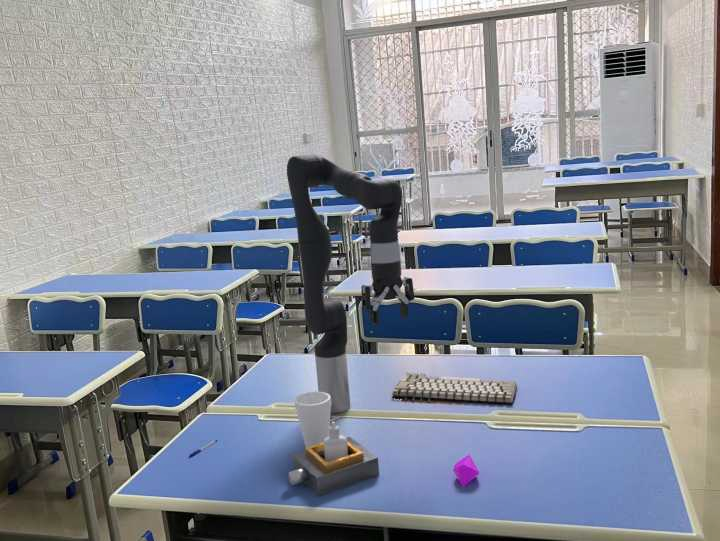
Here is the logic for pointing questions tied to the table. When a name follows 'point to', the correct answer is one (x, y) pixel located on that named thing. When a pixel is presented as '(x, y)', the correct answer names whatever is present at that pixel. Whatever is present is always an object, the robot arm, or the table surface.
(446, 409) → the table surface
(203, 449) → the ballpoint pen
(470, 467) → the crystal
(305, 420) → the foam cup
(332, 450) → the eye dropper bottle
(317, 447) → the gearbox housing
